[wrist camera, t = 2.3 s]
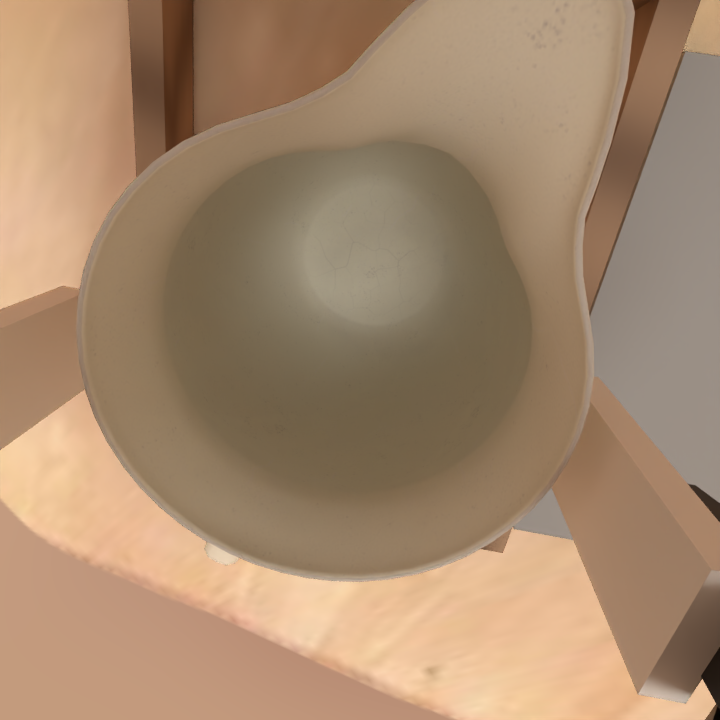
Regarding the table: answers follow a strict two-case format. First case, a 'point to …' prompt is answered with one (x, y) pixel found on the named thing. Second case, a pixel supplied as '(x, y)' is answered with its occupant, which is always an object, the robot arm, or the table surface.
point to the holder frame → (623, 162)
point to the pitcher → (366, 296)
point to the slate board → (666, 291)
